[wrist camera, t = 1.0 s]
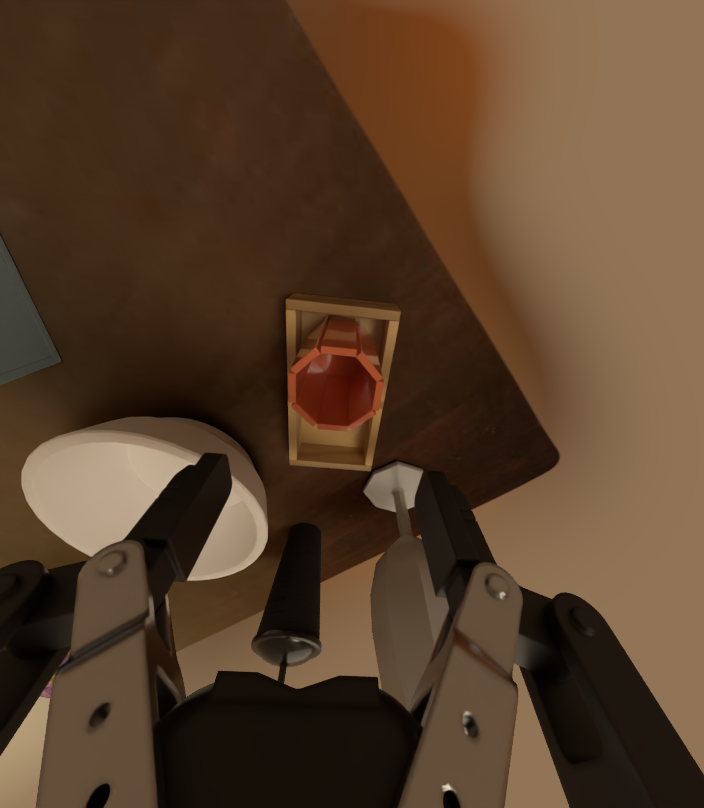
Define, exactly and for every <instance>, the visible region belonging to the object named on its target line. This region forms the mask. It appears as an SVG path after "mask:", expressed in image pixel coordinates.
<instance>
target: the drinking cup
mask: <svg viewBox="0 0 704 808" xmlns="http://www.w3.org/2000/svg"><path fill="white" fill-rule="evenodd" d="M320 572H321V532H320V530H319V529H318V528H317V527H315V526H313V525H310V524H298V525H296V526H294V527H292V528H291V530H290V533H289V536H288V539H287V542H286V545H285V548H284V551H283V555H282V558H281V561H280V564H279V567H278V570H277V573H276V576H275V579H274V582H273V586H272V589H271V592H270V595H269V598H268V601H267V604H266V607H265V610H264V614H263V617H262V620H261V623H260V626H259V629H258V632H257V635H256V636H255V637H254V638H253V640H252V644H251V648H252V650H253V651H254V652H255V653H256V654H257V655H259V656H260V657H261V658H263V660H265V661H266V662H268V663H270V664H272V665H276V666H279V667H280V671H279V677H278V681H279V682H281V683H283V684H284V680H285V674H286V668H287V667H293V666H298V665H301V664H303V663H305V662H307V661H308V660H310V659H312V658H315V657H316V656H318V655H319V654H320V652H321V642H320V640H319V629H320Z"/></svg>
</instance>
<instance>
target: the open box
mask: <svg viewBox="0 0 704 808" xmlns="http://www.w3.org/2000/svg"><path fill="white" fill-rule="evenodd" d="M59 362H62V361H61V358H60V356H59V354H58V352H57V350H56V348H55V346H54V344H53V342H52V340H51V338H50V336H49V334H48V332H47V330H46V328H45V326H44V324H43V321H42V319H41V317H40V315H39V313H38V311H37V309H36V307H35V305H34V303H33V301H32V299H31V297H30V295H29V293H28V291H27V289H26V287H25V284H24V282H23V280H22V278H21V276H20V274H19V272H18V270H17V268H16V266H15V264H14V262H13V260H12V258H11V256H10V254H9V252H8V250H7V247H6V245H5V243H4V241H3V239H2V237H1V235H0V385H2V384H5V383H7V382H10V381H13V380H15V379H18V378H20V377H23V376H26V375H28V374H31V373H34V372H36V371H39V370H41V369H44V368H47V367H49V366H52V365H54V364H57V363H59Z"/></svg>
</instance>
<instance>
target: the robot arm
mask: <svg viewBox="0 0 704 808" xmlns="http://www.w3.org/2000/svg"><path fill="white" fill-rule="evenodd" d="M231 489H232V477H231V472H230V466H229V461H228V456H227V455H226V454H220V453H208V452H206V453H204V454H203V455H202V456H201V458H200V459H199V461H198V462H197V463H196V465H188V466H186V467H185V468H184V469H182V470H181V471H179V472H178V473H176V474H175V476H174V477H173V478H172V479H171V481H170V482H169V483H168V484H167V486H166V488H164V489H163V491H162V492H161V493H160V494H159V497H158V498H156V499H155V501H154V502H153V503H152V504H151V506H150V507H149V508H148V510H147V511H146V512H145V513H144V515H143V516H142V517H141V518H140V520H139V521H138V522H137V523H136V525H135V526H134V527H133V528H132V530H131V531H130V532H129V533H128V535H127V536H126V537H125V538H124V539H123V540H122V541H119V542H116V543H113V544H111V545H108V546H106V547H105V548H103V549H101V550H100V551H98V552H97V553H96V554H94V555H93V556H92V557H91V558H90V559H89V560H87V561H84V562H79V563H75V564H71V565H66V566H62V567H57V568H53V569H49V570H47V569H46V568H45V567H44V566H43V565H42V564H41V563H40V562H38V561H35V560H26V561H20V562H17V563H13V564H11V565H8V566H5V567H3V568H1V569H0V651H1V650H2V649H3V650H2V651H1V652H0V755H1V754H2V753H3V751H4V750H5V748H6V747H7V745H8V744H9V742H10V741H11V739H12V738H13V736H14V734H15V733H16V731H17V730H18V728H19V727H20V725H21V724H22V722H23V721H24V719H25V718H26V716H27V715H28V713H29V712H30V710H31V709H32V707H33V706H34V704H35V702H36V701H37V699H38V698H39V697H40V695H41V693H42V692H43V690H44V689H45V687H46V686H47V684H48V683H49V681H50V680H51V678H52V677H53V675H54V674H55V676H54V679H53V683H52V689H51V697H50V704H49V712H48V720H47V727H46V734H45V742H44V750H43V757H42V765H41V772H40V779H39V787H38V795H37V802H36V808H504V805H505V798H506V790H507V782H508V774H509V767H510V759H511V751H512V744H513V736H514V728H515V720H516V713H517V705H518V688H517V684H516V683H515V682H514V681H513V679H512V671H513V664H514V663H515V664H517V665H519V667H520V670H521V673H522V675H523V678H524V681H525V684H526V686H527V689H528V692H529V695H530V698H531V701H532V703H533V706H534V709H535V712H536V715H537V717H538V720H539V723H540V726H541V729H542V731H543V734H544V737H545V739H546V743H547V745H548V748H549V751H550V754H551V757H552V759H553V762H554V765H555V768H556V771H557V773H558V776H559V779H560V782H561V784H562V787H563V790H564V793H565V795H566V798H567V801H568V804H569V807H570V808H704V775H703V773H702V771H701V770H700V768H699V767H698V765H697V763H696V762H695V760H694V759H693V757H692V756H691V754H690V752H689V751H688V749H687V748H686V746H685V745H684V743H683V741H682V740H681V738H680V737H679V735H678V734H677V732H676V730H675V729H674V727H673V726H672V724H671V723H670V721H669V720H668V718H667V716H666V715H665V713H664V712H663V710H662V708H661V707H660V705H659V704H658V702H657V701H656V699H655V697H654V696H653V694H652V693H651V691H650V690H649V688H648V686H647V685H646V683H645V682H644V680H643V679H642V677H641V675H640V674H639V672H638V671H637V669H636V668H635V666H634V664H633V663H632V661H631V660H630V658H629V657H628V655H627V653H626V652H625V650H624V649H623V647H622V646H621V644H620V642H619V641H618V639H617V638H616V636H615V635H614V633H613V631H612V630H611V628H610V627H609V625H608V624H607V623H606V621H605V619H604V618H603V617H602V616H601V614H599V612H598V611H597V610H596V609H595V608H594V607H592V606H591V605H590V604H589V603H587V602H586V601H585V600H583V599H581V598H580V597H578V596H576V595H573V594H570V593H560V594H557V595H556V596H555V597H554V598H553V599H550V598H548V597H545V596H543V595H540V594H538V593H535V592H533V591H530V590H528V589H525V588H523V587H521V586H519V585H518V584H517V583H516V581H515V580H514V579H513V577H512V576H510V574H509V573H508V572H506V571H505V570H503V569H502V568H501V567H499V566H498V565H497V564H496V562H495V560H494V558H493V556H492V554H491V551H490V549H489V547H488V545H487V543H486V540H485V538H484V536H483V534H482V532H481V529H480V527H479V525H478V523H477V521H476V520H475V516H474V514H473V512H472V511H471V508H470V505H469V503H468V501H467V499H466V497H465V496H464V494H463V493H462V492H461V491H460V490H459V489H458V488H457V487H456V486H451V485H449V483H448V481H447V478H446V476H445V474H444V473H443V472H438V471H426V470H425V471H423V473H422V476H421V479H420V482H419V485H418V488H417V491H416V494H415V500H414V506H415V512H416V516H417V521H418V525H419V529H420V533H421V537H422V542H423V546H424V550H425V554H426V558H427V563H428V567H429V571H430V575H431V579H432V584H433V588H434V592H435V596H436V597H442V598H447V602H448V605H449V609H448V611H447V614H446V616H445V619H444V622H443V624H442V627H441V630H440V632H439V635H438V638H437V640H436V643H435V646H434V648H433V651H432V654H431V656H430V659H429V662H428V664H427V667H426V669H425V671H424V673H423V675H422V677H421V679H420V682H419V684H418V686H417V688H416V691H415V693H414V696H413V698H412V701H411V704H410V706H409V709H408V710H407V709H406V708H405V707H404V706H403V705H402V704H401V703H400V702H399V701H398V700H397V699H395V698H394V697H393V696H391V695H390V694H388V693H387V692H385V691H383V690H381V689H379V687H378V677H360V676H337V677H334V678H331V679H328V680H325V681H322V682H319V683H316V684H313V685H310V686H307V687H304V688H301V689H295V688H292V687H290V686H288V685H285V684H283V683H281V682H279V681H276V680H274V679H272V678H270V677H268V676H265V675H263V674H261V673H258V672H235V671H218V673H217V676H216V679H215V682H214V683H213V684H209V685H207V686H205V687H203V688H201V689H199V690H197V691H195V692H194V693H192V694H191V695H189V696H187V697H186V694H185V687H184V682H183V677H182V674H181V670H180V667H179V664H178V661H177V656H176V650H175V643H174V636H173V629H172V622H171V615H170V608H169V601H168V596H167V592H168V590H169V589H170V587H171V585H172V583H173V581H178V582H186V581H187V579H188V577H189V575H190V573H191V571H192V569H193V567H194V565H195V563H196V561H197V559H198V557H199V555H200V553H201V551H202V549H203V547H204V545H205V543H206V541H207V539H208V537H209V536H210V534H211V532H212V530H213V528H214V526H215V524H216V522H217V520H218V518H219V516H220V514H221V512H222V510H223V508H224V506H225V504H226V502H227V500H228V498H229V496H230V493H231ZM70 649H71V650H70ZM69 651H70V655H69V658H68V661H67V662H66V663H64V664H62V665H61V663H62V662H63V660H64V659H65V657H66V656H67V654H68V652H69ZM60 665H61V666H60ZM59 666H60V667H59ZM55 672H56V673H55Z"/></svg>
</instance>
